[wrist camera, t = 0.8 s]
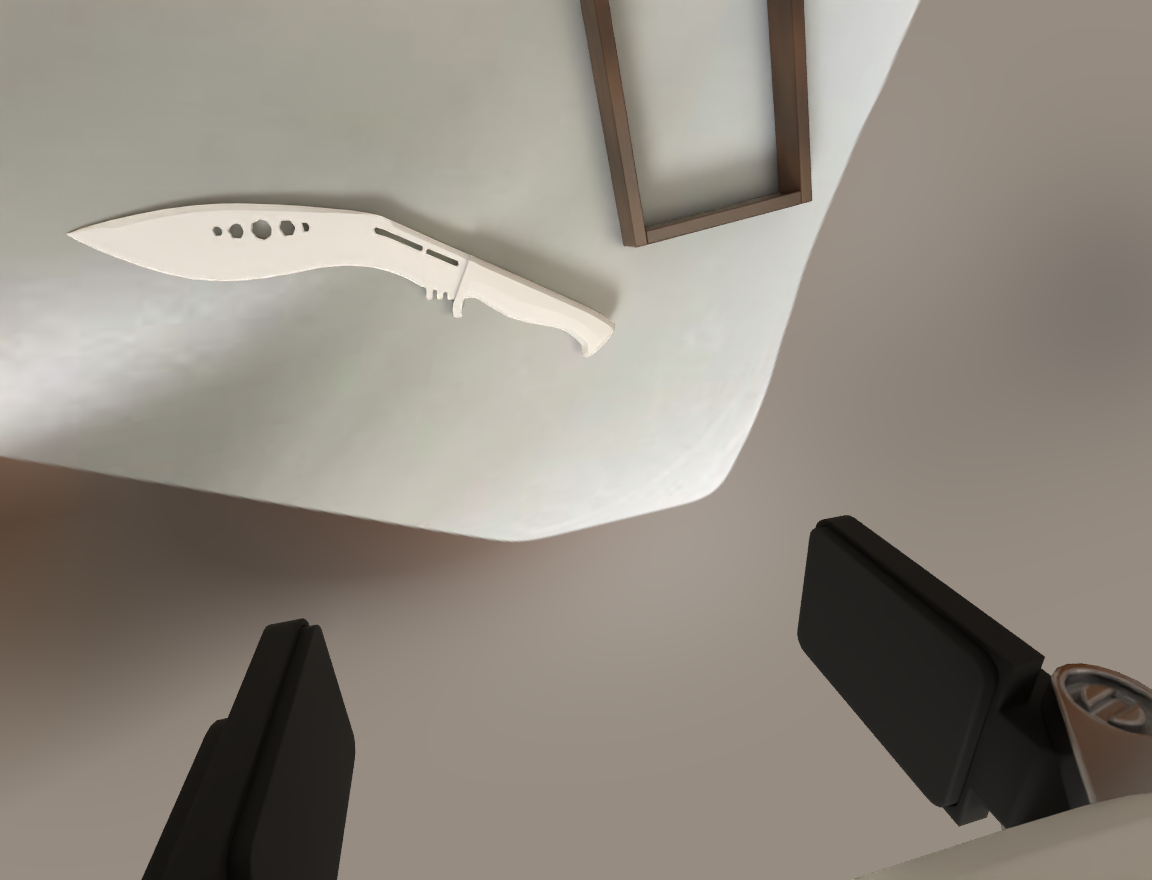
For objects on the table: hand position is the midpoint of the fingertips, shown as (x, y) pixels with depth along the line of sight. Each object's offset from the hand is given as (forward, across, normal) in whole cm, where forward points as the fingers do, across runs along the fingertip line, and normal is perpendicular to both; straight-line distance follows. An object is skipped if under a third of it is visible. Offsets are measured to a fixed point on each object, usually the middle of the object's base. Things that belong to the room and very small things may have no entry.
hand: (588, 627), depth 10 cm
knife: (+29, +6, -4) cm, 30 cm away
